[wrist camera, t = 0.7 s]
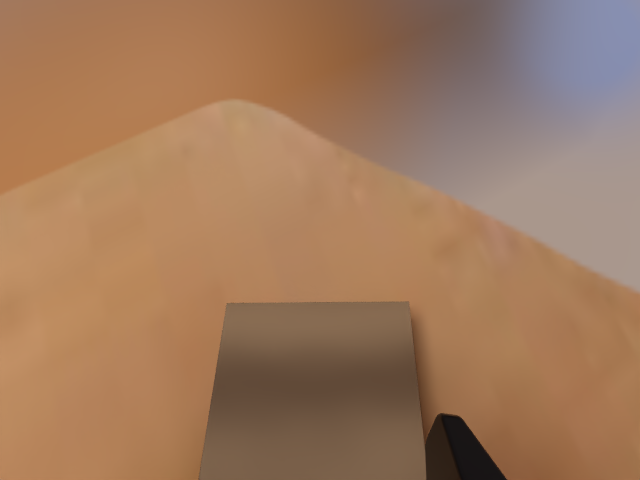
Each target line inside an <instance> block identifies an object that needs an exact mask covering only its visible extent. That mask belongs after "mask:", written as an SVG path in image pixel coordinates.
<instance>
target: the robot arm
mask: <svg viewBox="0 0 640 480" xmlns="http://www.w3.org/2000/svg"><path fill="white" fill-rule="evenodd" d="M425 460H426V480H507V479H506V478H505V476H504V475H503V473H502V472H501V471H500V469H499V468H498V467H497V465H496V464H495V463H494V461H493V460H492V459H491V457H490V456H489V454H488V453H487V452H486V450H485V449H484V448H483V446H482V445H481V444H480V442H479V441H478V439H477V438H476V437H475V435H474V434H473V433H472V431H471V430H470V429H469V427H468V426H467V424H466V423H465V422H464V420H463V419H462V418H461V417H459V416H457V415H451V414H445V413H440V414H438V415H437V417H436V419H435V421H434V423H433V426H432V428H431V430H430V433H429V435H428V437H427V440H426V445H425Z"/></svg>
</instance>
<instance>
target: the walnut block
mask: <svg viewBox="0 0 640 480" xmlns="http://www.w3.org/2000/svg"><path fill="white" fill-rule="evenodd" d="M199 480H426V460H425V446H424V437H423V427H422V418H421V409H420V400H419V390H418V381H417V372H416V363H415V353H414V344H413V335H412V325H411V316H410V307H409V302H305V303H227V305H226V311H225V317H224V324H223V330H222V336H221V342H220V349H219V355H218V361H217V367H216V374H215V380H214V386H213V392H212V399H211V405H210V411H209V417H208V424H207V430H206V436H205V442H204V449H203V455H202V461H201V467H200V474H199Z"/></svg>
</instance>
